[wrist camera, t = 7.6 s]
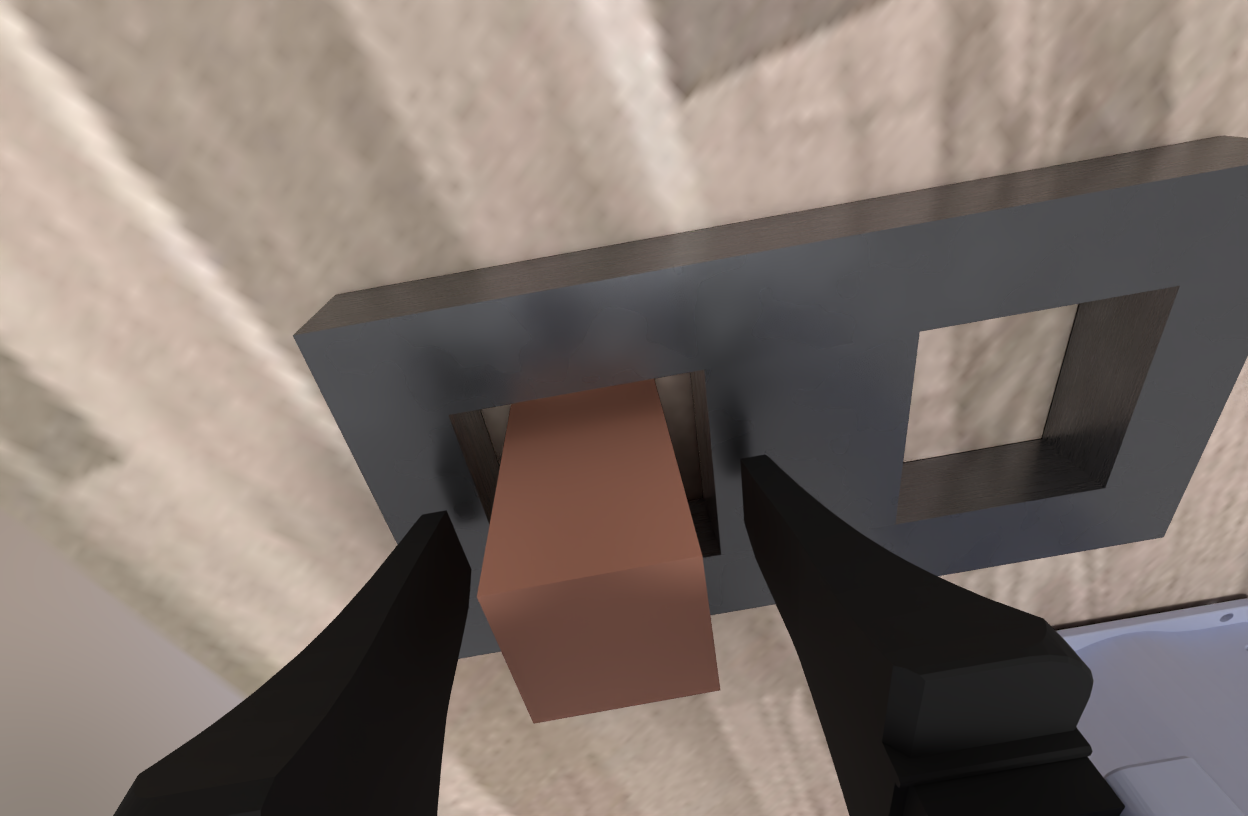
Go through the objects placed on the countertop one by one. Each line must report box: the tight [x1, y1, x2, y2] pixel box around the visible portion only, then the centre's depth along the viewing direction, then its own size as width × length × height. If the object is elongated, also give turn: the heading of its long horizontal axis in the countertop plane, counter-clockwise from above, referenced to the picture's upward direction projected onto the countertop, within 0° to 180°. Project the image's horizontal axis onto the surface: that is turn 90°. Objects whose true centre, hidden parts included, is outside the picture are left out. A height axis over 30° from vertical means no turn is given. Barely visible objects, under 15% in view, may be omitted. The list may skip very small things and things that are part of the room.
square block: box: [477, 379, 720, 723], centre depth 14 cm, size 4×4×7 cm
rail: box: [293, 136, 1248, 659], centre depth 16 cm, size 22×11×2 cm, turn 99°
